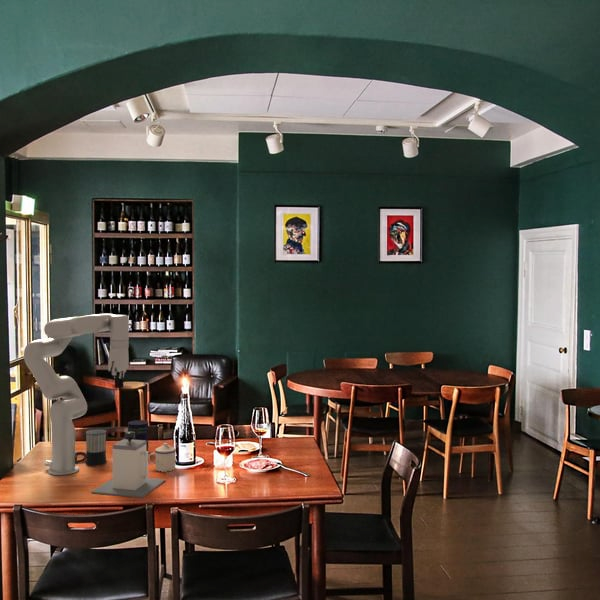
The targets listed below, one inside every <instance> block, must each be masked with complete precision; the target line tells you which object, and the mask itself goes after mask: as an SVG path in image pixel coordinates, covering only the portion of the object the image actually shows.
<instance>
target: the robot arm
mask: <svg viewBox="0 0 600 600" xmlns="http://www.w3.org/2000/svg"><path fill="white" fill-rule="evenodd" d="M43 327H44V328H43V331H44V334H45V335H46V336H47V337H48V338H41V339H40V338H39V339H34V340H32V341H30V342H29V343H27V344H26V346H25V348H24V351H23V360H24V363H25V365H26V367H27V368H28V370H29V371H30V372H31V374H32V376H33V377H34V379H35V381H36V383H37V385H38V387H39V390H40V391H41V393H42V395H43V396H44V398H45V399H47V400H49V401H54V400H55V402H53V403H52V404H51V406H50V408H49V417H50V421H51V437H52V439H51V442H52V443H51V444H52V445H51V460H49V459H46V460H45V462H44V466H45V467H49V468H48V470H47V472H48V474H49V475H52V476H65V475H66V476H68V475H72V474H75V473H77V472H79V469H80V468H79V466H78V465H76V463H75V453H76V429H75V425H74V423H73V421H72V420H74V419H77V418H78V419H79V418H80V417H82V416H84V415H86V413H87V411H88V403H87V401H86V399H85V397H84V394H83V393H82V391H81V389H80V387H79V386H78V383H77V382H76V381H75V379H74V378H72V377H71V376H68V375H60V376H59V375H57V373H56V372H55V370H54V367H53V366H52V365H51V364H50V363H49V362H47V361H46V360H45V359H47V358H48V359H49V358H54V357H58V356H59V355H61V354H63V352H64V350H65V349H66V348H67V347H68V345H69V343H70V342H71V340H72V339H73V338H74V337H79V336H81V335H87V334H95V333H102V332H109V334H110V335H109V339H110V340H109V353H108V363H107V365H108V366H107V371H108V372H109V373H111V375H112V376H113V378H114V389H123V388H124V378H125V374H126V372H127V370H128V369H129V366H130V365H129V363H130V362H129V359H130V358H129V357H130V356H129V347H130V346H129V344H130V343H129V340H130V339H129V337H130V335H129V334H130V330H129V329H130V318H129V315H127V314H113V313H99V314H98V313H97V314H95V313H94V314H89V315H83V316H82V315H81V316H72V317H71V316H70V317H63V318H62V317H61V318H55V319H51V320H49V321H48V322H47V323H46V324H45V325H44V326H43ZM58 399H59V400H58ZM56 400H57V401H56Z"/></svg>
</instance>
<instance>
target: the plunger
mask: <svg viewBox="0 0 600 600" xmlns="http://www.w3.org/2000/svg"><path fill="white" fill-rule="evenodd" d="M124 439H127V440H128V443H132V439H135V432H133V431H129V432H128V431H125V432H124Z"/></svg>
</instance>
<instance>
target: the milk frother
mask: <svg viewBox="0 0 600 600" xmlns="http://www.w3.org/2000/svg"><path fill="white" fill-rule="evenodd" d="M85 434H86V435H85V436H86V442H85V443H86V453H85V452H83V451H78V452H75V464H76V463H77V464H79V463H83V462H84V461H85V465H86V466H90V467H97V466H98V465H100V466H103V464H104V465H105V464H107V457H106V456H107V455H106V453H107V452H106V451H107V443H106V442H107V441H106V440H107V439H106V438H107V437H106V436H107V430H106V429H103V428H102V429H101V428H100V429H99V428H97V429H89V430H86V431H85ZM78 456H83V458H81V459H78ZM98 467H99V466H98Z"/></svg>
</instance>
